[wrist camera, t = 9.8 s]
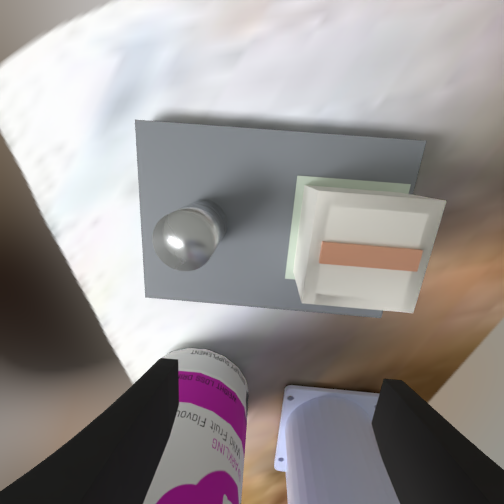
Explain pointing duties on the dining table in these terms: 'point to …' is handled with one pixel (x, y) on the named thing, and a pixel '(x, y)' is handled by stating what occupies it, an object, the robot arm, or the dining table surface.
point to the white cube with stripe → (364, 247)
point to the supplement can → (204, 433)
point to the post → (189, 235)
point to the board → (254, 202)
